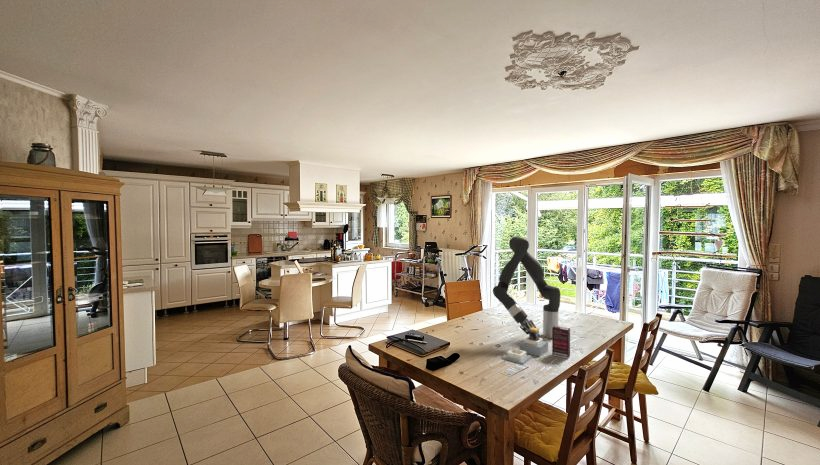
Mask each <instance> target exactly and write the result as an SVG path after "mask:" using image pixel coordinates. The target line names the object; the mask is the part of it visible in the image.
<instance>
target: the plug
mask: <svg viewBox="0 0 820 465" xmlns="http://www.w3.org/2000/svg"><path fill="white" fill-rule="evenodd" d="M531 330H532V333H534V334H535V335H536V336H537V339H535V340H534V339H533V338H532V337H531V335H529V334H528V335H529V336H528V337H529V339H530V340H534V341H538V340H539V338H540V337H539V335H540V328H537V327H536V328H534V327H531Z"/></svg>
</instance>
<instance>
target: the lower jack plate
mask: <svg viewBox="0 0 820 465" xmlns="http://www.w3.org/2000/svg"><path fill="white" fill-rule="evenodd" d="M532 358H533V356H532V355H531V354H530V355H529V354H527V353H526V351H522V350H520V349H517V348H514V347H513V348H512V349H510V350H508V351H507V352H506V353H505V354H503V355H502V356H501V359H503V360H505V361H509V362H513V363H517V364H520V365H525V364H526V363H527V362H528V361H530V360H532Z"/></svg>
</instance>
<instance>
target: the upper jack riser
mask: <svg viewBox="0 0 820 465" xmlns="http://www.w3.org/2000/svg"><path fill="white" fill-rule="evenodd" d="M519 350H522V351H526V354H528V355H529V354H530V355H533V356H537V357H542V356H543V355H544V354H546V353H547V352H548V351H549V342H548V341H546V340H544V339H543V338H541V337H539V340H538V341H534V340H530V339H529V336H527V337H526V338H525V339H523V340H521V341H520V342H519Z"/></svg>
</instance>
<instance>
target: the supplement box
mask: <svg viewBox="0 0 820 465" xmlns="http://www.w3.org/2000/svg"><path fill="white" fill-rule="evenodd" d="M551 342H552V345H551V348H552V349H551V353H552V356H554V357H558V358H563V359H569V358H570V356H571V328H570V327H565V326H559V325H558V326H553V327H552V338H551Z"/></svg>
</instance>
